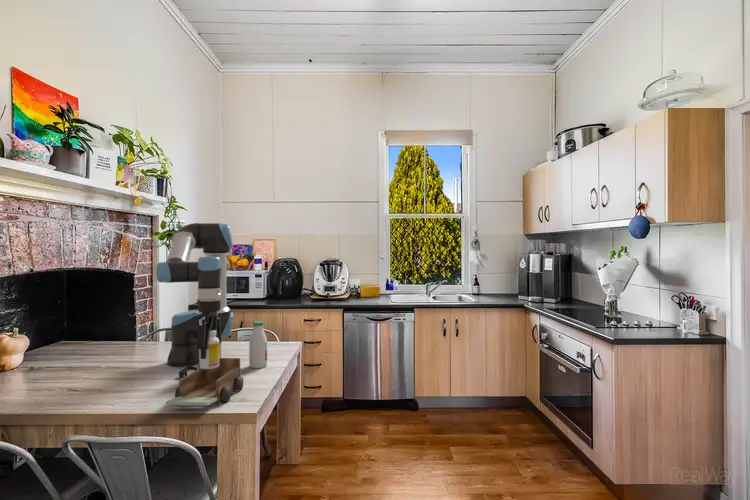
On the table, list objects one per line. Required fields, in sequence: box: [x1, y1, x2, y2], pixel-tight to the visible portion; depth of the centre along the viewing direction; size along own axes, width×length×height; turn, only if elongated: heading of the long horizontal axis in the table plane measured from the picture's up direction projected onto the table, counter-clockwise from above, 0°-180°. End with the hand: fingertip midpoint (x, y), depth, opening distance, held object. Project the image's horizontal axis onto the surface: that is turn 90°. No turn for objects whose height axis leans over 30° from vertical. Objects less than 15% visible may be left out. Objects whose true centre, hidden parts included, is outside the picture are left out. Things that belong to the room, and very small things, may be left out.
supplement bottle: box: [198, 330, 219, 369], centre depth 149 cm, size 7×7×13 cm
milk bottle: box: [248, 320, 268, 369], centre depth 187 cm, size 8×8×20 cm
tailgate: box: [165, 397, 217, 407], centre depth 136 cm, size 14×2×7 cm
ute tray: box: [174, 357, 245, 405], centre depth 150 cm, size 18×18×11 cm
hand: (209, 364), depth 149 cm, fingers closed on supplement bottle, 7 cm apart
